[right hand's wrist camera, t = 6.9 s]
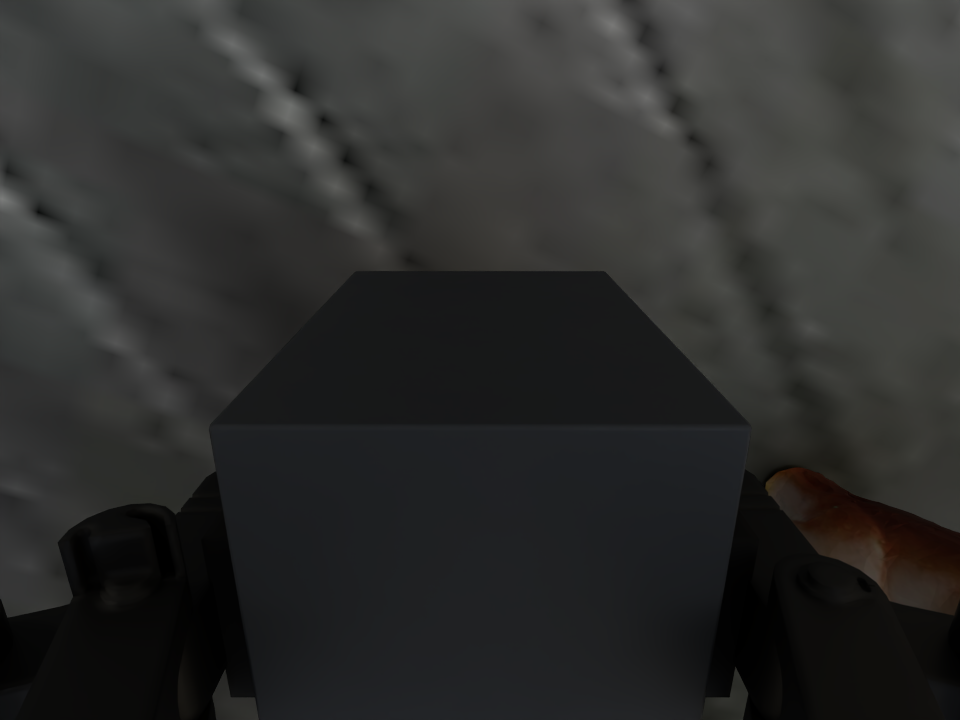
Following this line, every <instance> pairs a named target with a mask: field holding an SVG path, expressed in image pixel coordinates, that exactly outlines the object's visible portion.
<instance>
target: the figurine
mask: <svg viewBox="0 0 960 720" xmlns="http://www.w3.org/2000/svg"><path fill="white" fill-rule="evenodd" d="M765 489H766V490H767V491H768V495H769V496H772V497H773V499H774V500H775V501H776V502H777V504H778V505H779V506H780V510H783V511H784V512H785V513H786V515H787V516H788V517H789V518H790V519H791V521H792V522H793V523H794V524H795V526H796V527H797V528H798V529H799V531H800V532H801V533H802V534H803V535H804V537H805V538H806V539H807V540H808V542H809V543H810V544H811V545H812V546H813V548H814V549H815V550H816V551H817V553H818V554H819V555H823V556H827V557H830V558H834V559H838V560H840V561H843V562H845V563H847V564H849V565H851V566H853V567H855V568H857V569H859V570H861V571H862V572H864V573H865V574H866V575H868V576H869V577H870V578H872V579H873V580H874V581H876V582H877V584H878V585H879V586H880V588H881V589H882V590H883V591H884V593H885V594H886V595H887V597H888V599H889V601H892V602H895V603H899V604H903V605H907V606H912V607H917V608H921V609H926V610H931V611H935V612H940V613H945V614H949V615H954V614H955V612H956V609H957V606H958V603H959V600H960V533H958V532H955V531H952V530H950V529H947V528H944V527H941V526H939V525H937V524H935V523H933V522H931V521H928V520H925V519H923V518H921V517H919V516H916V515H914V514H912V513H909V512H906V511H903V510H900V509H897V508H894V507H891V506H888V505H885V504H882V503H880V502H875V501H871V500H868V499H864V498H861V497H858V496H856V495H853V494H851V493H850V492H848V491H846V490H845V489H843V488H841V487H840V486H838V485H837V484H836V483H834V482H833V481H831V480H829V479H827V478H825V477H824V476H823V475H822V474H820V473H817V472H813V471H811V470H808V469H805V468H800V467H798V468H791V469H787V470H783V471H780V472H777V473H776V474H775V475H774V476H773V477H772V478H771V479H770V480H768V481H767V482H766V487H765Z"/></svg>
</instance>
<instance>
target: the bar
mask: <svg viewBox="0 0 960 720" xmlns="http://www.w3.org/2000/svg"><path fill="white" fill-rule="evenodd" d="M751 431H752V428H751V425H750V424H749V423H748V422H747V421H746V419H745V418H744V417H743V416H742V415H741V414H740V413H739V412H738V411H737V410H736V409H735V408H734V407H733V406H732V405H731V404H730V403H729V402H728V401H727V399H726V398H725V397H724V396H723V395H722V394H721V393H720V392H719V391H718V390H717V389H716V388H715V387H714V386H713V385H712V384H711V383H710V382H709V381H708V379H707V378H706V377H705V376H704V375H703V374H702V373H701V372H700V371H699V370H698V369H697V368H696V367H695V366H694V365H693V364H692V363H691V362H690V361H689V359H688V358H687V357H686V356H685V355H684V354H683V353H682V352H681V351H680V350H679V349H678V348H677V347H676V346H675V345H674V344H673V343H672V342H671V341H670V339H669V338H668V337H667V336H666V335H665V334H664V333H663V332H662V331H661V330H660V329H659V328H658V327H657V326H656V325H655V324H654V323H653V322H652V321H651V320H650V318H649V317H648V316H647V315H646V314H645V313H644V312H643V311H642V310H641V309H640V308H639V307H638V306H637V305H636V304H635V303H634V302H633V301H632V300H631V298H630V297H629V296H628V295H627V294H626V293H625V292H624V291H623V290H622V289H621V288H620V287H619V286H618V285H617V284H616V283H615V282H614V281H613V280H612V278H611V277H610V276H609V275H608V274H607V273H606V272H604V271H356V272H355V273H354V274H353V275H352V276H351V277H350V278H349V279H348V280H347V281H346V282H345V283H344V284H343V285H342V286H341V287H340V288H339V289H338V290H337V292H336V293H335V294H334V295H333V296H332V297H331V298H330V299H329V300H328V301H327V302H326V303H325V304H324V305H323V306H322V307H321V308H320V309H319V311H318V312H317V313H316V314H315V315H314V316H313V317H312V318H311V319H310V320H309V321H308V322H307V323H306V324H305V325H304V326H303V327H302V328H301V329H300V331H299V332H298V333H297V334H296V335H295V336H294V337H293V338H292V339H291V340H290V341H289V342H288V343H287V344H286V345H285V346H284V347H283V348H282V350H281V351H280V352H279V353H278V354H277V355H276V356H275V357H274V358H273V359H272V360H271V361H270V362H269V363H268V364H267V365H266V366H265V367H264V369H263V370H262V371H261V372H260V373H259V374H258V375H257V376H256V377H255V378H254V379H253V380H252V381H251V382H250V383H249V384H248V385H247V386H246V387H245V389H244V390H243V391H242V392H241V393H240V394H239V395H238V396H237V397H236V398H235V399H234V400H233V401H232V402H231V403H230V404H229V405H228V406H227V408H226V409H225V410H224V411H223V412H222V413H221V414H220V415H219V416H218V417H217V418H216V419H215V420H214V421H213V422H212V423H211V424H210V428H209V432H210V438H211V444H212V449H213V455H214V461H215V467H216V473H217V478H218V484H219V490H220V496H221V502H222V507H223V513H224V519H225V525H226V531H227V536H228V542H229V548H230V554H231V560H232V565H233V571H234V577H235V583H236V589H237V595H238V600H239V606H240V612H241V618H242V624H243V629H244V635H245V641H246V647H247V653H248V658H249V664H250V670H251V676H252V682H253V687H254V693H255V699H256V705H257V711H258V716H259V720H702V714H703V708H704V702H705V697H706V691H707V685H708V679H709V673H710V668H711V662H712V656H713V650H714V645H715V639H716V633H717V627H718V621H719V616H720V610H721V604H722V598H723V593H724V587H725V581H726V575H727V569H728V564H729V558H730V552H731V546H732V541H733V535H734V529H735V523H736V517H737V512H738V506H739V500H740V494H741V489H742V483H743V477H744V471H745V465H746V460H747V454H748V448H749V442H750V437H751Z"/></svg>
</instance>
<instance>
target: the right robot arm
mask: <svg viewBox="0 0 960 720" xmlns="http://www.w3.org/2000/svg"><path fill="white" fill-rule="evenodd" d="M58 545H59V549H60V552H61V556H62V559H63V563H64V566H65V570H66V573H67V577H68V580H69V583H70V587H71V590H72V594H73V598H72V600H71V603H70V604H68V605H64V606H61V607H56V608H52V609H47V610H42V611H38V612H33V613H28V614H24V615H19V616H14V617H10V618H7V616H6V613H5V610H4V607H3V604H2V601H1V599H0V720H216V716H215V708H214V703H213V698H212V695H213V693H214V691H215V689H216V687H217V685H218V683H219V680H220V678H221V676H222V674H223V672H224V670H225V668H226V674H227V679H228V684H229V689H230V695H231V697H255V693H254V687H253V682H252V676H251V670H250V664H249V658H248V653H247V647H246V641H245V635H244V629H243V624H242V618H241V612H240V606H239V600H238V595H237V589H236V583H235V577H234V571H233V565H232V560H231V554H230V548H229V542H228V536H227V531H226V525H225V519H224V513H223V507H222V502H221V496H220V490H219V484H218V478H217V473H216V472H214V473H212V474H211V475H209V476H208V477H206V478H205V480H204V481H203V482H202V483H201V485H200V486H199V487H198V488H197V490H196V491H195V492H194V493H193V497H192V498H189V499H188V501H187V502H186V503H185V504H184V506H183V507H182V508H181V512H178V513H177V514H176V515H175V514H174V513H173V512H172V511H171V510H169V509H168V508H167V507H166V506H161V505H156V504H151V503H147V504H130V505H126V506H121V507H117V508H113V509H108V510H106V511H104V512H101V513H99V514H96V515H94V516H91V517H89V518H87V519H85V520H84V521H82V522H80V523H79V524H77V525H76V526H74V527H73V528H71V529H70V530H68V532H67V533H66V534H65V535H64V536H63V537H62V538H61V539H60V540H59V542H58ZM735 666H736V668H737V670H738V672H739V674H740V676H741V679H742V681H743V683H744V685H745V687H746V689H747V691H748V698H747V703H746V708H745V713H744V718H743V720H960V600H959V603H958V606H957V609H956V612H955V614H954V615H949V614H945V613H940V612H935V611H931V610H926V609H921V608H917V607H912V606H907V605H903V604H899V603H895V602H892V601H889V599H888V597H887V595H886V594H885V593H884V591H883V590H882V589H881V588H880V586H879V585H878V584H877V582H876V581H874V580H873V579H872V578H870V577H869V576H868V575H866V574H865V573H864V572H862V571H861V570H859V569H857V568H855V567H853V566H851V565H849V564H847V563H845V562H843V561H840V560H838V559H834V558H830V557H827V556H823V555H819V554H818V553H817V551H816V550H815V549H814V548H813V546H812V545H811V544H810V543H809V542H808V540H807V539H806V538H805V537H804V535H803V534H802V533H801V532H800V531H799V529H798V528H797V527H796V526H795V524H794V523H793V522H792V521H791V519H790V518H789V517H788V516H787V515H786V513H785V512H784V511H783V510H780V506H779V505H778V504H777V502H776V501H775V500H774V499H773V497H772V496H769V495H768V491H767V490H766V489H765V488H764V486H763V485H762V484H761V483H760V482H759V480H758V479H757V478H756V477H755V475H753V474H752V473H750V472H748V471H747V470H745V471H744V477H743V483H742V489H741V494H740V500H739V506H738V512H737V517H736V523H735V529H734V535H733V541H732V546H731V552H730V558H729V564H728V569H727V575H726V581H725V587H724V593H723V598H722V604H721V610H720V616H719V621H718V627H717V633H716V639H715V645H714V650H713V656H712V662H711V668H710V673H709V679H708V685H707V691H706V697H730V692H731V686H732V681H733V676H734V671H735Z"/></svg>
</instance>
